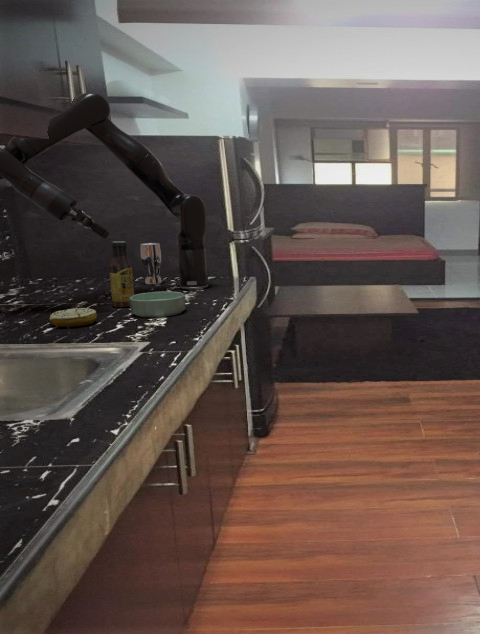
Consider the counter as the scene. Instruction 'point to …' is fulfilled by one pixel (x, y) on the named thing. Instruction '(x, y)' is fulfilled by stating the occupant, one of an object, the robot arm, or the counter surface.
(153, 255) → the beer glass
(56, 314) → the decorated donut
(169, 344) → the counter surface
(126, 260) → the sauce bottle
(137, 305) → the bowl
